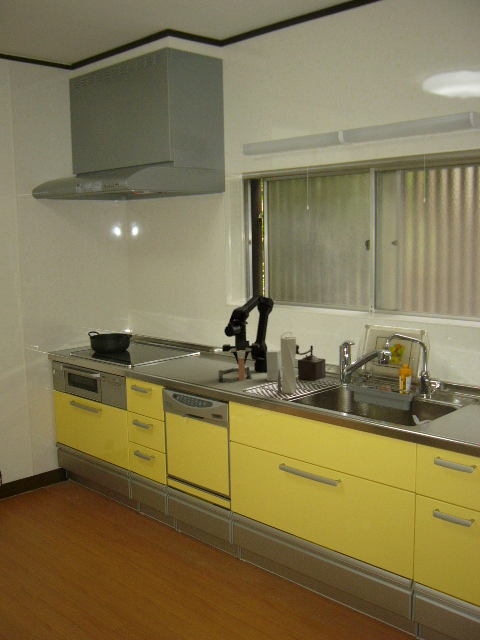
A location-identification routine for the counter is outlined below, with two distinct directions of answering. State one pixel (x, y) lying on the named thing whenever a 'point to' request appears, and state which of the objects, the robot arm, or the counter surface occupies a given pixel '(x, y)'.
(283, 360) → the skyscraper
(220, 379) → the gray arch
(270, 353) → the skincare box
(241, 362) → the orange rectangular frame
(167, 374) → the counter surface
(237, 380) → the pad
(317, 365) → the brown coffee grinder
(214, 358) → the counter surface
